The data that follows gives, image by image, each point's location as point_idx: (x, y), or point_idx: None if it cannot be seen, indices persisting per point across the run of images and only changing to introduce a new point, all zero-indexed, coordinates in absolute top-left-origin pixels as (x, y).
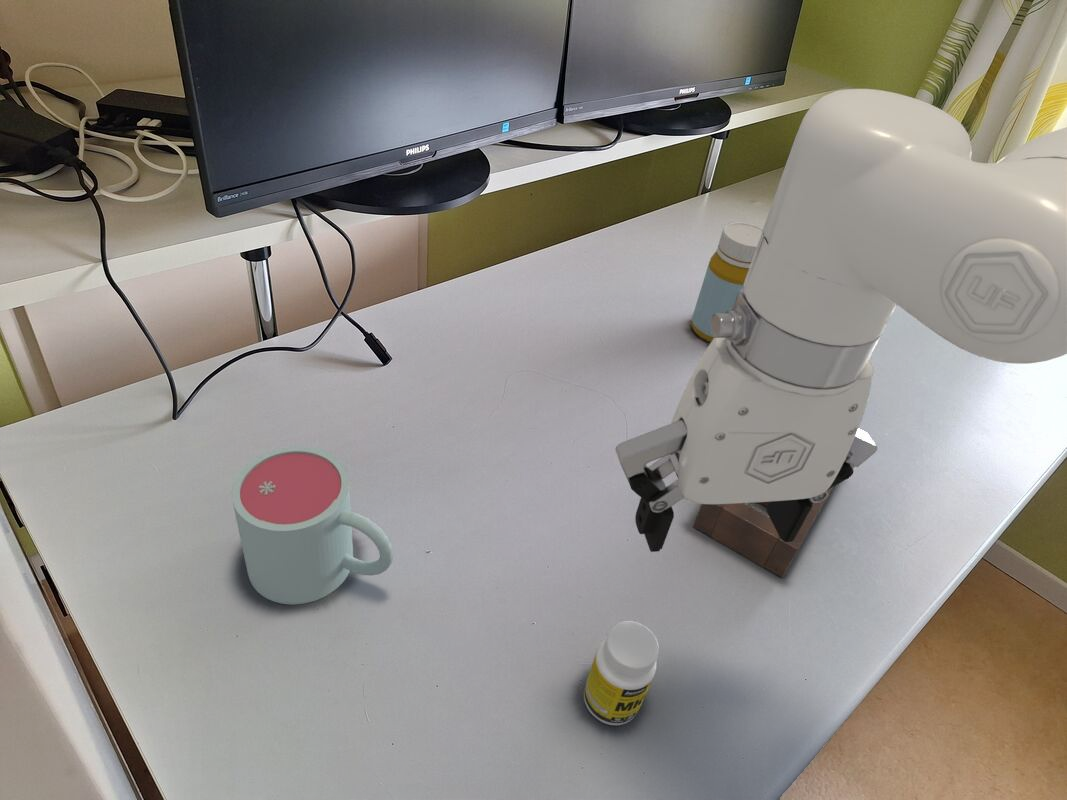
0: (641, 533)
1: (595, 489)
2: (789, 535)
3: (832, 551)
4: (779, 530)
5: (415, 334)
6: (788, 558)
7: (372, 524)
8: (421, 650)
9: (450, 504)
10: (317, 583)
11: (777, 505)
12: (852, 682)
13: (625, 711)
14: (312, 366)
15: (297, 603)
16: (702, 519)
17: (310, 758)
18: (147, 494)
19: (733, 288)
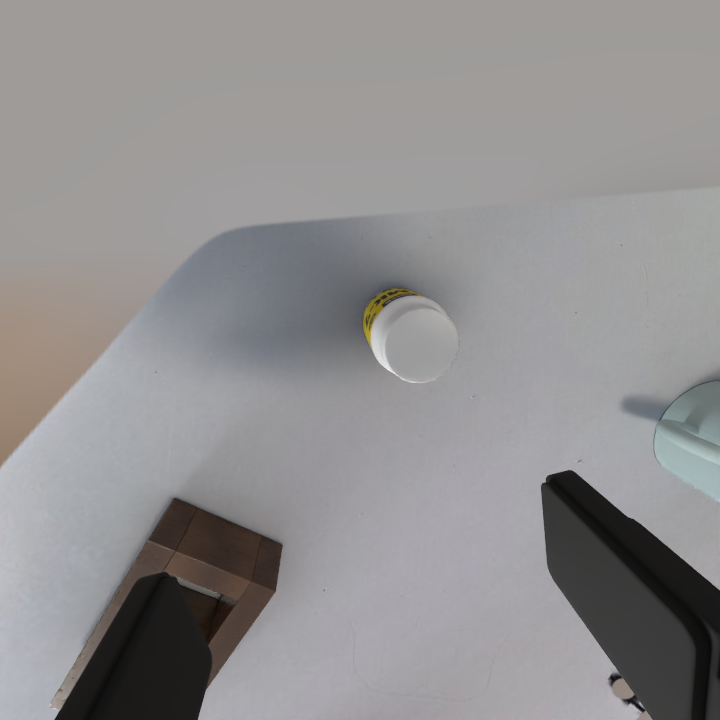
0: (632, 519)
1: (395, 569)
2: (145, 602)
3: (103, 544)
4: (178, 607)
5: (583, 714)
6: (163, 524)
7: None
8: (590, 349)
9: None
10: (715, 401)
11: (178, 705)
12: (94, 375)
13: (393, 290)
14: None
15: (709, 383)
16: (273, 557)
17: (698, 222)
18: None
19: None
